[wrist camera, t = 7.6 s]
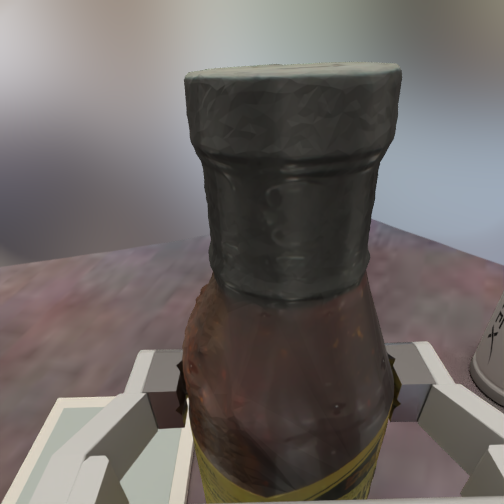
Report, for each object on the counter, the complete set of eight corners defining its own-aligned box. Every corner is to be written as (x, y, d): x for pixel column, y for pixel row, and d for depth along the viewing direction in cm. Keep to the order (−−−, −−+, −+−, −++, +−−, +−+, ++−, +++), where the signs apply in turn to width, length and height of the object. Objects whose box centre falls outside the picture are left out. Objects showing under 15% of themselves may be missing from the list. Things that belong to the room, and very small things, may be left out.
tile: (-42, 601, 19) (-50, 596, 18) (61, 403, 29) (57, 397, 28) (173, 597, 18) (171, 592, 18) (200, 400, 29) (199, 393, 28)
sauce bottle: (331, 669, 13) (564, 86, 2) (192, 578, 15) (-17, 88, 5) (360, 489, 18) (474, 49, 7) (252, 442, 20) (220, 59, 10)
